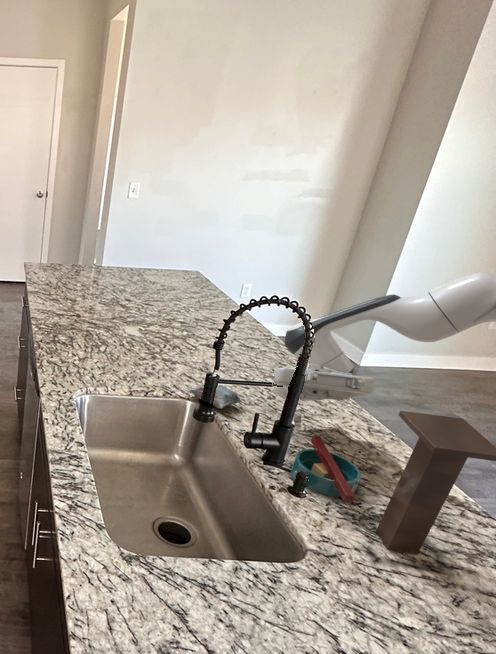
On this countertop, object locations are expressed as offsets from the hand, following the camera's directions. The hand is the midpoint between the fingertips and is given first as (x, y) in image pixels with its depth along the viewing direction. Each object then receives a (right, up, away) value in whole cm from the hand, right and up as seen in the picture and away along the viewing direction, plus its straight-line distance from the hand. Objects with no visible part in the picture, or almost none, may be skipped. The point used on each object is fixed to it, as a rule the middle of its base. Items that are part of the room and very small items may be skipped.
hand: (337, 379), depth 117 cm
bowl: (-3, -23, +2) cm, 23 cm away
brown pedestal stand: (0, -31, -15) cm, 35 cm away
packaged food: (-13, -8, +33) cm, 37 cm away
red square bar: (-3, -19, -2) cm, 20 cm away
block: (-3, -23, +1) cm, 23 cm away
